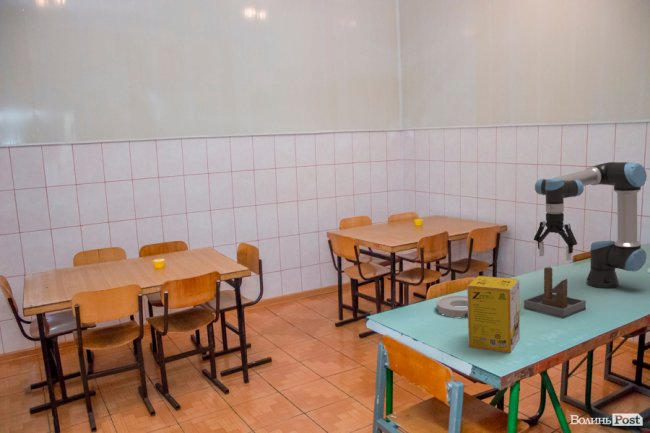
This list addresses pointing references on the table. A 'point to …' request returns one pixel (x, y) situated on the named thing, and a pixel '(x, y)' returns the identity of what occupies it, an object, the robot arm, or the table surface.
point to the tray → (571, 308)
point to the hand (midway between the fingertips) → (555, 258)
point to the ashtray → (453, 306)
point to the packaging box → (493, 313)
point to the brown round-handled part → (554, 291)
